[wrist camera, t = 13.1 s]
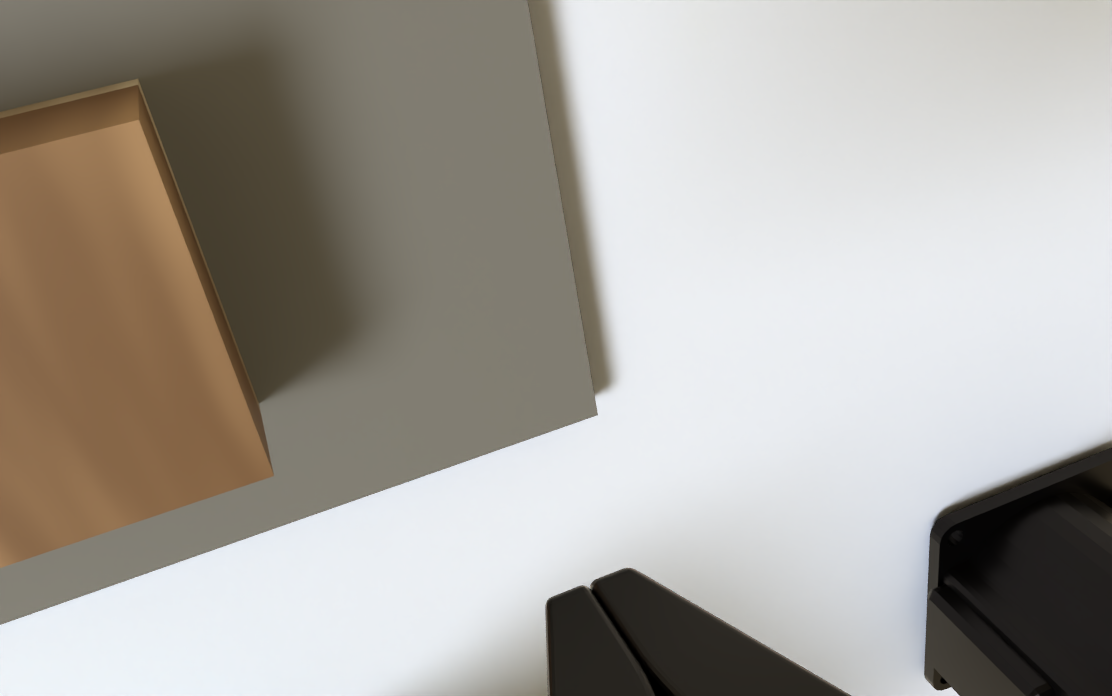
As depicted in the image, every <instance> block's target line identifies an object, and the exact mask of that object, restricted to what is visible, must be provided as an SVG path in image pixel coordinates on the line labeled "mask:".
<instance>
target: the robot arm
mask: <svg viewBox="0 0 1112 696" xmlns="http://www.w3.org/2000/svg"><path fill="white" fill-rule="evenodd" d="M546 643H547V676H548V696H851V695H849V694H848V693H846V692H844V691H842V690H841V689H839V688H837V687H836V686H834V685H832V684H830V683H829V682H827V681H825V680H824V679H822V678H820V677H818V676H817V675H815V674H813V673H812V672H810V671H808V670H806V669H805V668H803V667H801V666H800V665H798V664H796V663H794V662H793V661H791V660H789V659H788V658H786V657H784V656H783V655H781V654H779V653H777V652H776V651H774V650H772V649H771V648H769V647H767V646H765V645H764V644H762V643H760V642H759V641H757V640H755V639H753V638H752V637H750V636H748V635H747V634H745V633H743V632H741V631H740V630H738V629H736V628H735V627H733V626H731V625H729V624H728V623H726V622H724V621H723V620H721V619H719V618H717V617H716V616H714V615H712V614H711V613H709V612H707V611H705V610H704V609H702V608H700V607H699V606H697V605H695V604H694V603H692V602H690V601H688V600H687V599H685V598H683V597H682V596H680V595H678V594H676V593H675V592H673V591H671V590H670V589H668V588H666V587H664V586H663V585H661V584H659V583H658V582H656V581H654V580H652V579H651V578H649V577H647V576H646V575H644V574H642V573H640V572H639V571H637V570H635V569H632V568H624V569H621V570H619V571H616V572H614V573H611V574H609V575H606V576H604V577H601V578H599V579H596V580H594V581H593V582H592V584H591V585H590V589H589V588H588V587H587V586H583V585H582V586H578V587H576V588H573V589H571V590H568V591H566V592H563V593H561V594H558V595H556V596H553V597H551V598H549V599H548V600H547V602H546ZM924 675H925V678H926V680H927V681H928V682H929V683H930V684H931V685H932V686H933V687H934V688H935V689H936V690H944V689H947V688H950V687H952V688H953V689H954V690H955V691H956V692H957V693H958V694H959V695H960V696H1112V448H1110V449H1108V450H1105V451H1103V452H1100V453H1098V454H1095V455H1093V456H1090V457H1088V458H1086V459H1083V460H1081V461H1078V462H1076V463H1073V464H1071V465H1068V466H1066V467H1063V468H1061V469H1059V470H1056V471H1054V472H1051V473H1049V474H1046V475H1044V476H1041V477H1039V478H1036V479H1034V480H1032V481H1029V482H1027V483H1024V484H1022V485H1019V486H1017V487H1014V488H1012V489H1009V490H1007V491H1005V492H1002V493H1000V494H997V495H995V496H992V497H990V498H987V499H985V500H982V501H980V502H978V503H975V504H973V505H970V506H968V507H965V508H963V509H960V510H958V511H955V512H953V513H951V514H948V515H946V516H944V517H942V518H941V519H939V520H938V521H937V522H936V523H935V525H934V526H933V528H932V530H931V533H930V546H929V570H928V595H927V620H926V644H925V669H924Z"/></svg>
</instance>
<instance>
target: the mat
mask: <svg viewBox="0 0 1112 696" xmlns="http://www.w3.org/2000/svg"><path fill="white" fill-rule="evenodd" d="M134 79H138V80H139V83H140V85H141V88H142V91H143V93H144V96H145V99H146V102H147V104H148V107H149V110H150V112H151V115H152V118H153V120H154V123H155V126H156V128H157V131H158V134H159V136H160V139H161V142H162V145H163V147H164V150H165V153H166V155H167V158H168V161H169V163H170V166H171V169H172V171H173V174H174V177H175V179H176V182H177V185H178V188H179V190H180V193H181V196H182V198H183V201H184V204H185V206H186V209H187V212H188V214H189V217H190V220H191V222H192V225H193V228H194V230H195V233H196V236H197V239H198V241H199V244H200V247H201V249H202V252H203V255H204V257H205V260H206V263H207V265H208V268H209V271H210V273H211V276H212V279H213V282H214V284H215V287H216V290H217V292H218V295H219V298H220V300H221V303H222V306H223V308H224V311H225V314H226V316H227V319H228V322H229V325H230V327H231V330H232V333H233V335H234V338H235V341H236V343H237V346H238V349H239V351H240V354H241V357H242V359H243V362H244V365H245V367H246V370H247V373H248V376H249V378H250V381H251V384H252V386H253V389H254V392H255V394H256V397H257V400H258V402H259V406H260V411H261V416H262V421H263V425H264V430H265V435H266V440H267V444H268V449H269V454H270V459H271V464H272V468H273V473H274V476H273V477H270V478H267V479H264V480H261V481H258V482H255V483H252V484H249V485H246V486H243V487H240V488H237V489H234V490H231V491H228V492H225V493H222V494H219V495H216V496H213V497H210V498H207V499H204V500H201V501H198V502H195V503H192V504H189V505H186V506H183V507H180V508H177V509H174V510H171V511H169V512H166V513H163V514H160V515H157V516H154V517H151V518H148V519H145V520H142V521H139V522H136V523H133V524H130V525H127V526H124V527H121V528H118V529H115V530H112V531H109V532H106V533H103V534H100V535H97V536H94V537H91V538H88V539H85V540H82V541H79V542H76V543H73V544H70V545H67V546H64V547H61V548H58V549H55V550H52V551H49V552H46V553H43V554H41V555H38V556H35V557H32V558H29V559H26V560H23V561H20V562H17V563H14V564H11V565H8V566H5V567H2V568H0V625H1V624H4V623H7V622H9V621H12V620H15V619H18V618H21V617H24V616H27V615H29V614H32V613H35V612H38V611H41V610H44V609H47V608H49V607H52V606H55V605H58V604H61V603H64V602H66V601H69V600H72V599H75V598H78V597H81V596H84V595H86V594H89V593H92V592H95V591H98V590H101V589H103V588H106V587H109V586H112V585H115V584H118V583H121V582H123V581H126V580H129V579H132V578H135V577H138V576H141V575H143V574H146V573H149V572H152V571H155V570H158V569H160V568H163V567H166V566H169V565H172V564H175V563H178V562H180V561H183V560H186V559H189V558H192V557H195V556H197V555H200V554H203V553H206V552H209V551H212V550H215V549H217V548H220V547H223V546H226V545H229V544H232V543H235V542H237V541H240V540H243V539H246V538H249V537H252V536H254V535H257V534H260V533H263V532H266V531H269V530H272V529H274V528H277V527H280V526H283V525H286V524H289V523H291V522H294V521H297V520H300V519H303V518H306V517H309V516H311V515H314V514H317V513H320V512H323V511H326V510H329V509H331V508H334V507H337V506H340V505H343V504H346V503H348V502H351V501H354V500H357V499H360V498H363V497H366V496H368V495H371V494H374V493H377V492H380V491H383V490H385V489H388V488H391V487H394V486H397V485H400V484H403V483H405V482H408V481H411V480H414V479H417V478H420V477H422V476H425V475H428V474H431V473H434V472H437V471H440V470H442V469H445V468H448V467H451V466H454V465H457V464H460V463H462V462H465V461H468V460H471V459H474V458H477V457H479V456H482V455H485V454H488V453H491V452H494V451H497V450H499V449H502V448H505V447H508V446H511V445H514V444H516V443H519V442H522V441H525V440H528V439H531V438H534V437H536V436H539V435H542V434H545V433H548V432H551V431H554V430H556V429H559V428H562V427H565V426H568V425H571V424H573V423H576V422H579V421H582V420H585V419H588V418H591V417H593V416H596V415H598V414H597V408H596V402H595V396H594V390H593V384H592V378H591V372H590V366H589V360H588V355H587V349H586V343H585V337H584V331H583V325H582V319H581V313H580V307H579V301H578V296H577V290H576V284H575V278H574V272H573V266H572V260H571V254H570V248H569V242H568V237H567V231H566V225H565V219H564V213H563V207H562V201H561V195H560V189H559V183H558V178H557V172H556V166H555V160H554V154H553V148H552V142H551V136H550V130H549V124H548V119H547V113H546V107H545V101H544V95H543V89H542V83H541V77H540V71H539V65H538V60H537V54H536V48H535V42H534V36H533V30H532V24H531V18H530V12H529V6H528V0H0V112H2V111H6V110H10V109H14V108H18V107H23V106H27V105H31V104H35V103H39V102H43V101H47V100H52V99H56V98H60V97H64V96H68V95H72V94H76V93H80V92H85V91H89V90H93V89H97V88H101V87H105V86H109V85H113V84H118V83H122V82H126V81H130V80H134Z"/></svg>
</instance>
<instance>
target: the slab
mask: <svg viewBox="0 0 1112 696" xmlns="http://www.w3.org/2000/svg"><path fill="white" fill-rule="evenodd" d="M273 476H274V473H273V468H272V464H271V459H270V454H269V449H268V444H267V440H266V435H265V430H264V425H263V421H262V416H261V411H260V406H259V402H258V400H257V397H256V394H255V392H254V389H253V386H252V384H251V381H250V378H249V376H248V373H247V370H246V367H245V365H244V362H243V359H242V357H241V354H240V351H239V349H238V346H237V343H236V341H235V338H234V335H233V333H232V330H231V327H230V325H229V322H228V319H227V316H226V314H225V311H224V308H223V306H222V303H221V300H220V298H219V295H218V292H217V290H216V287H215V284H214V282H213V279H212V276H211V273H210V271H209V268H208V265H207V263H206V260H205V257H204V255H203V252H202V249H201V247H200V244H199V241H198V239H197V236H196V233H195V230H194V228H193V225H192V222H191V220H190V217H189V214H188V212H187V209H186V206H185V204H184V201H183V198H182V196H181V193H180V190H179V188H178V185H177V182H176V179H175V177H174V174H173V171H172V169H171V166H170V163H169V161H168V158H167V155H166V153H165V150H164V147H163V145H162V142H161V139H160V136H159V134H158V131H157V128H156V126H155V123H154V120H153V118H152V115H151V112H150V110H149V107H148V104H147V102H146V99H145V96H144V93H143V91H142V88H141V85H140V83H139V80H138V79H134V80H130V81H126V82H122V83H118V84H113V85H109V86H105V87H101V88H97V89H93V90H89V91H85V92H80V93H76V94H72V95H68V96H64V97H60V98H56V99H52V100H47V101H43V102H39V103H35V104H31V105H27V106H23V107H18V108H14V109H10V110H6V111H2V112H0V568H2V567H5V566H8V565H11V564H14V563H17V562H20V561H23V560H26V559H29V558H32V557H35V556H38V555H41V554H43V553H46V552H49V551H52V550H55V549H58V548H61V547H64V546H67V545H70V544H73V543H76V542H79V541H82V540H85V539H88V538H91V537H94V536H97V535H100V534H103V533H106V532H109V531H112V530H115V529H118V528H121V527H124V526H127V525H130V524H133V523H136V522H139V521H142V520H145V519H148V518H151V517H154V516H157V515H160V514H163V513H166V512H169V511H171V510H174V509H177V508H180V507H183V506H186V505H189V504H192V503H195V502H198V501H201V500H204V499H207V498H210V497H213V496H216V495H219V494H222V493H225V492H228V491H231V490H234V489H237V488H240V487H243V486H246V485H249V484H252V483H255V482H258V481H261V480H264V479H267V478H270V477H273Z"/></svg>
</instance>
